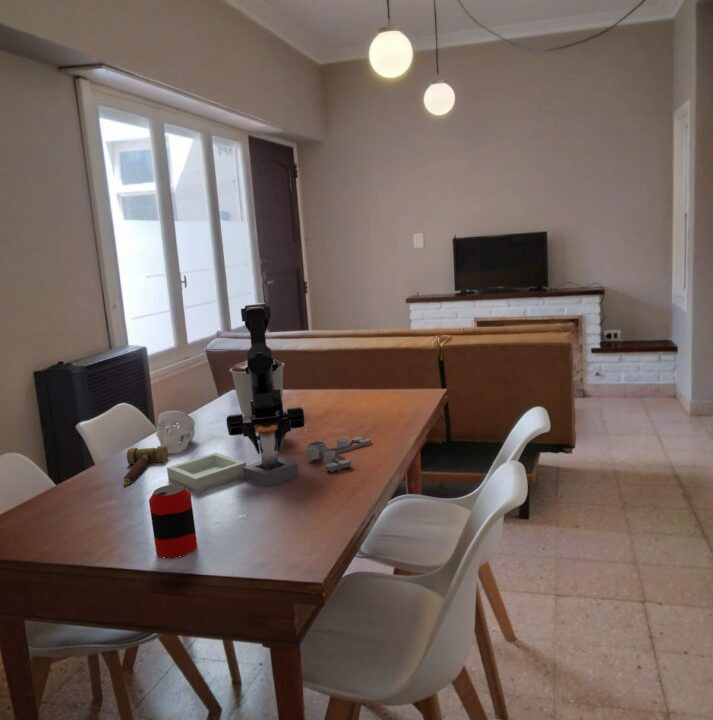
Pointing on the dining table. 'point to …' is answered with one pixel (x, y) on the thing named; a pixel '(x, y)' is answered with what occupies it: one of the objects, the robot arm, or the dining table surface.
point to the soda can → (173, 521)
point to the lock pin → (268, 445)
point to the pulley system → (334, 452)
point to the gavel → (143, 460)
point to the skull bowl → (175, 430)
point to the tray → (206, 472)
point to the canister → (244, 385)
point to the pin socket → (271, 473)
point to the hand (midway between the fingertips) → (268, 451)
